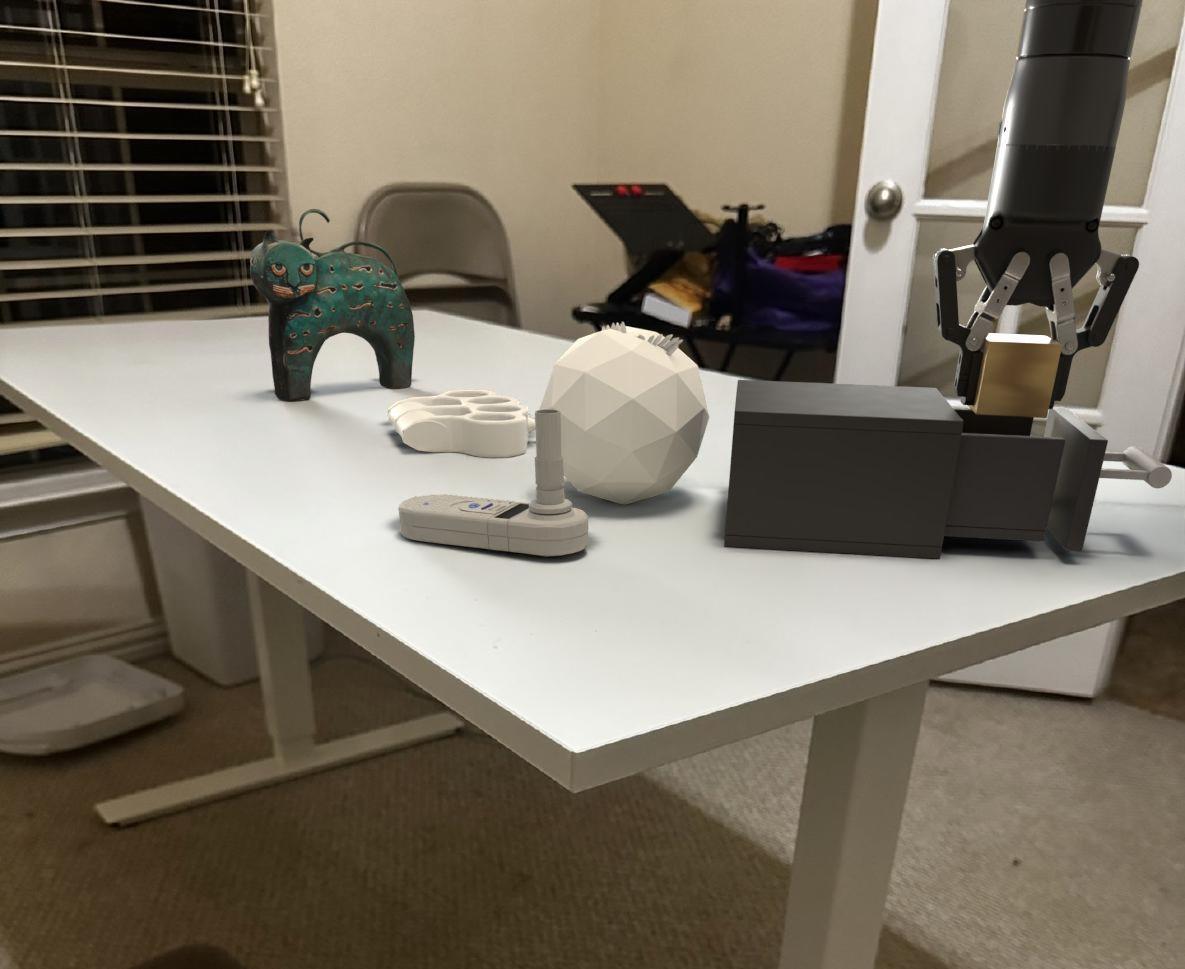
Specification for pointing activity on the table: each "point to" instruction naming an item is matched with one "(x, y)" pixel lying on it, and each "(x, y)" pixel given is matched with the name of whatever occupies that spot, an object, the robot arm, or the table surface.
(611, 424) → the geodesic sphere
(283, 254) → the ceramic cat
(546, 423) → the electronic device
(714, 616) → the table surface
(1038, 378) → the block
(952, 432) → the dark grey box
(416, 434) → the white tray with wells
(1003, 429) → the open drawer
